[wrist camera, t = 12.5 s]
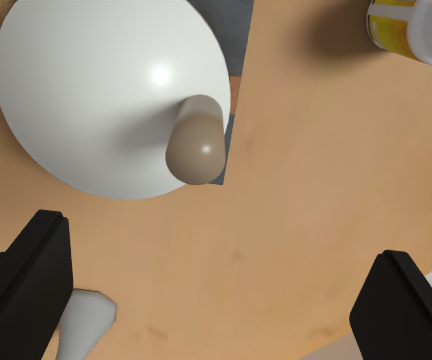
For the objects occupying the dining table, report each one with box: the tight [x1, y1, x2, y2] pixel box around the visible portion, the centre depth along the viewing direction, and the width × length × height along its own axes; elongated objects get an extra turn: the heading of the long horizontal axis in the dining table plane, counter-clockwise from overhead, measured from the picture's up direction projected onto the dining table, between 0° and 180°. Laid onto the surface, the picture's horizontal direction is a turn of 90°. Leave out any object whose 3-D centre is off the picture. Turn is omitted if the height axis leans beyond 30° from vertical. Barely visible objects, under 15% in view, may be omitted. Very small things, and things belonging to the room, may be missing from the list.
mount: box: [35, 0, 254, 185], centre depth 29 cm, size 18×18×6 cm
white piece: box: [0, 0, 230, 200], centre depth 22 cm, size 16×16×9 cm
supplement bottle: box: [366, 0, 432, 65], centre depth 24 cm, size 6×6×10 cm
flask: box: [55, 289, 117, 360], centre depth 41 cm, size 7×7×10 cm
